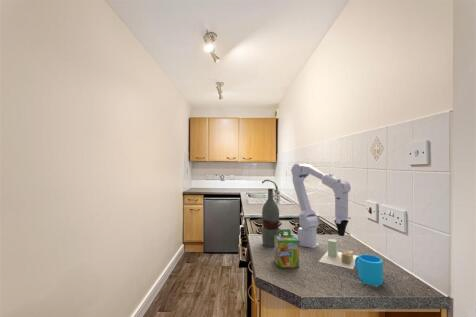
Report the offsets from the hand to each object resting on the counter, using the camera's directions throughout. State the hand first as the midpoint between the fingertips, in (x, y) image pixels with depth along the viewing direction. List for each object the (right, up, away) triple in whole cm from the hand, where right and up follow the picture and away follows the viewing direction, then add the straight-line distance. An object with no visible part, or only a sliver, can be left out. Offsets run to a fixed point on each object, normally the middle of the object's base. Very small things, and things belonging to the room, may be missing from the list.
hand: (341, 235), depth 116 cm
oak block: (+2, -7, -4) cm, 9 cm away
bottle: (-31, -10, +17) cm, 37 cm away
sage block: (-4, -9, 0) cm, 10 cm away
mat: (-3, -10, -4) cm, 11 cm away
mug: (+1, -10, -22) cm, 24 cm away
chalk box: (-28, -10, -8) cm, 31 cm away
